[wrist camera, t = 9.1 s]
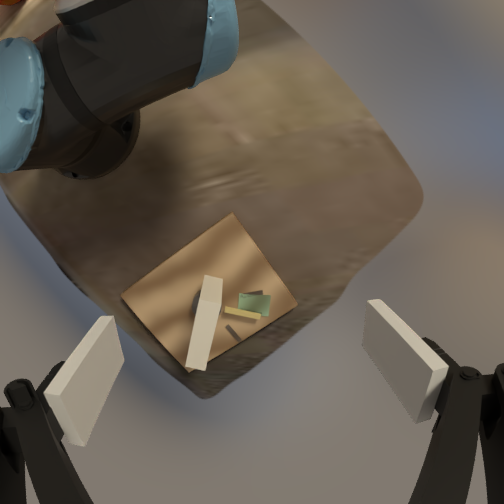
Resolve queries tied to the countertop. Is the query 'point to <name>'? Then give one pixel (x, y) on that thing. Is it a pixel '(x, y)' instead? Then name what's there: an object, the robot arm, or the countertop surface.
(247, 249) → the light wood flat board
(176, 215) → the countertop surface
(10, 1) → the apple
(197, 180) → the countertop surface
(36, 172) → the countertop surface
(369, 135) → the countertop surface
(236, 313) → the cream piece
